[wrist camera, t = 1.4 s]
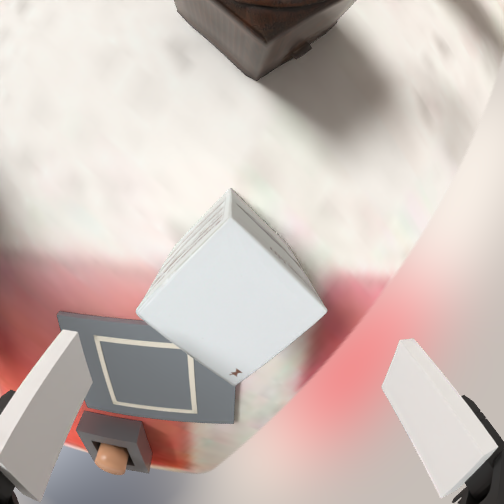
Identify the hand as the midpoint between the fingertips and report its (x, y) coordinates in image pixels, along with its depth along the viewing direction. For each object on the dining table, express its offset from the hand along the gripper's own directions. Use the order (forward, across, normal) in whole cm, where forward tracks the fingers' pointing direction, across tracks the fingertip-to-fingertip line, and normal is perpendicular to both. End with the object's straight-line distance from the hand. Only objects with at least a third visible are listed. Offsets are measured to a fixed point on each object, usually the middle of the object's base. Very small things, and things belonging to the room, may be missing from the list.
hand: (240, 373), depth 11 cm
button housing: (+16, -16, -30) cm, 38 cm away
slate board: (+16, -9, -16) cm, 25 cm away
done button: (+14, -16, -30) cm, 37 cm away
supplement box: (+17, 0, 0) cm, 17 cm away
